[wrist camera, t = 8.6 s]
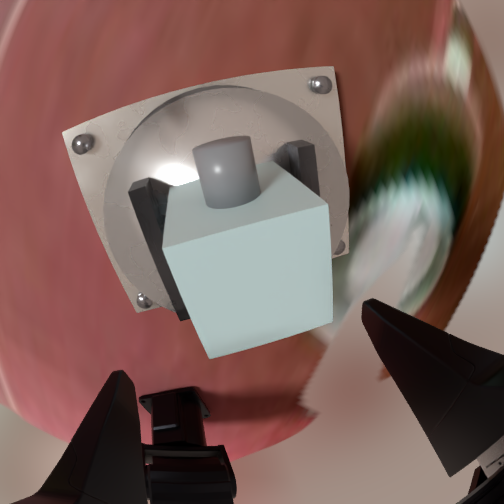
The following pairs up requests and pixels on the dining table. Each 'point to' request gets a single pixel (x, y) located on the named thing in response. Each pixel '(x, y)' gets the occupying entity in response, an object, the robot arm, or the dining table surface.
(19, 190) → the dining table surface
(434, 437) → the robot arm
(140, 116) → the metal mounting base
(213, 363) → the dining table surface
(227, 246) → the block with peg
